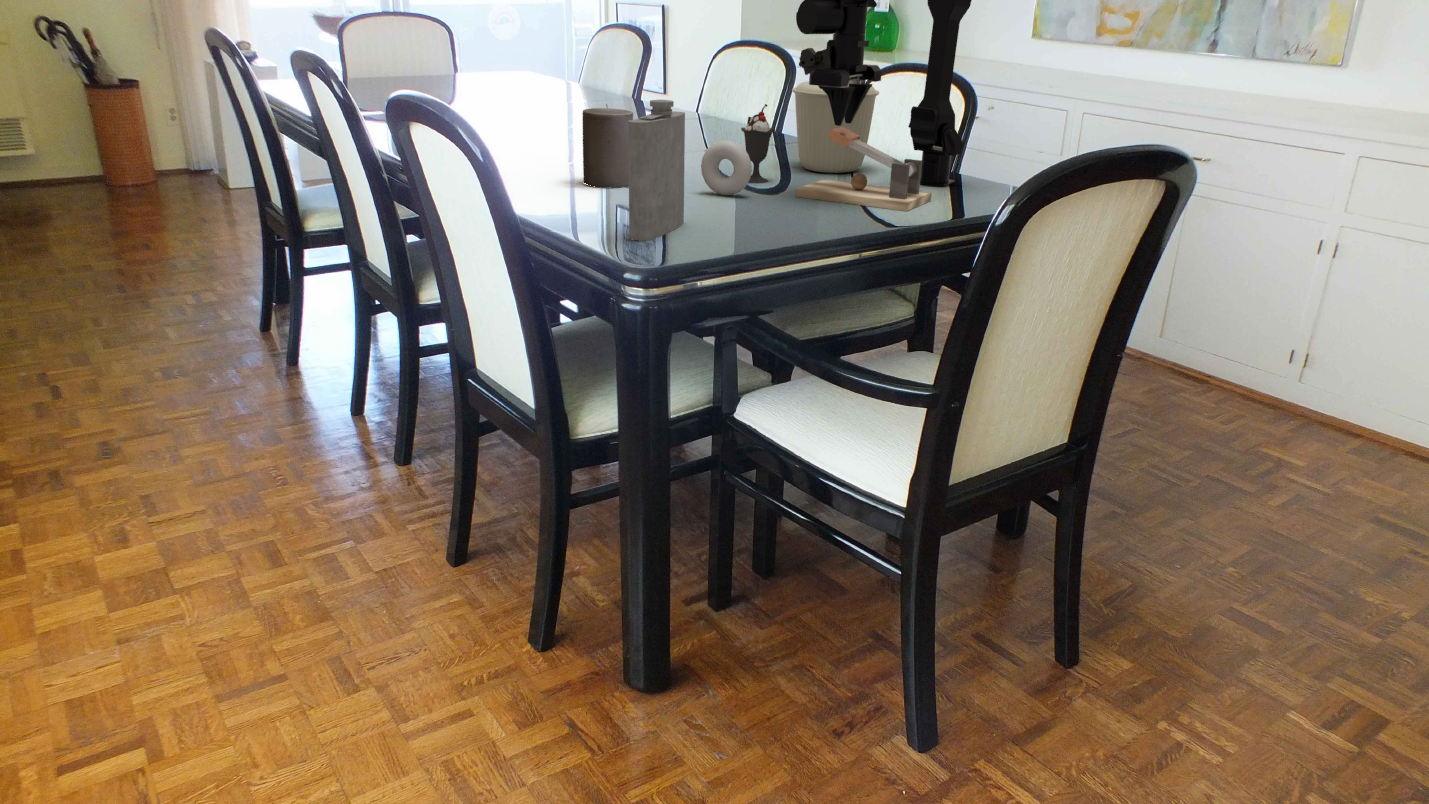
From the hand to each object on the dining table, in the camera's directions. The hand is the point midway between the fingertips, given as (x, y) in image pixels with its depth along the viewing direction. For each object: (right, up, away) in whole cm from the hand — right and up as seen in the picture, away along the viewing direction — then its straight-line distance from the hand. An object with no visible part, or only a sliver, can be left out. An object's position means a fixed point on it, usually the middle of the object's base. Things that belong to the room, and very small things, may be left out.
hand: (843, 124), depth 190 cm
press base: (+4, -13, +2) cm, 14 cm away
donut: (-22, -13, +3) cm, 25 cm away
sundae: (-15, -7, +18) cm, 24 cm away
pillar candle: (-44, -9, +11) cm, 46 cm away
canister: (+1, -1, +32) cm, 32 cm away
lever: (+5, -7, -1) cm, 8 cm away
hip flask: (-32, -24, -26) cm, 48 cm away
